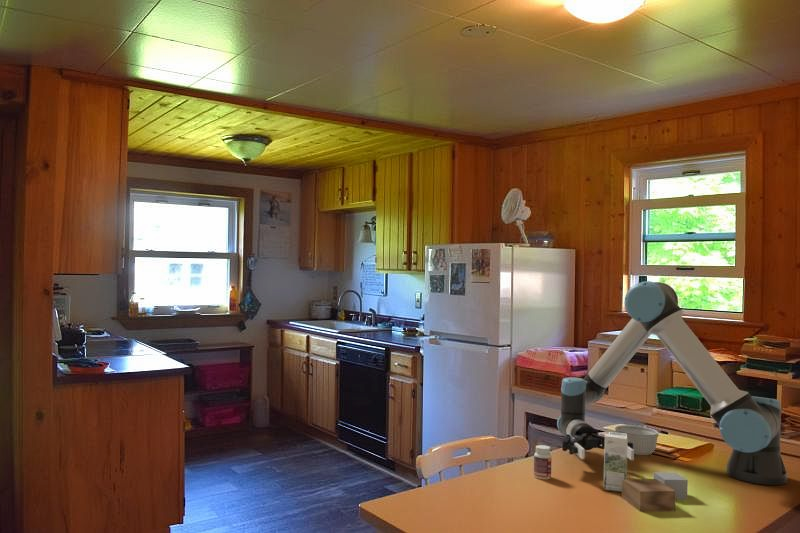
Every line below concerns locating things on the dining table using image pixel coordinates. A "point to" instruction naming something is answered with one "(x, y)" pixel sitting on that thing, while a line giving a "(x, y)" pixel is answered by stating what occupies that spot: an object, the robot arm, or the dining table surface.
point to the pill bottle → (542, 462)
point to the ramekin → (640, 438)
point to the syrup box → (615, 461)
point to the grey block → (673, 483)
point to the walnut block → (648, 495)
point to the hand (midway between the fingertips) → (607, 454)
